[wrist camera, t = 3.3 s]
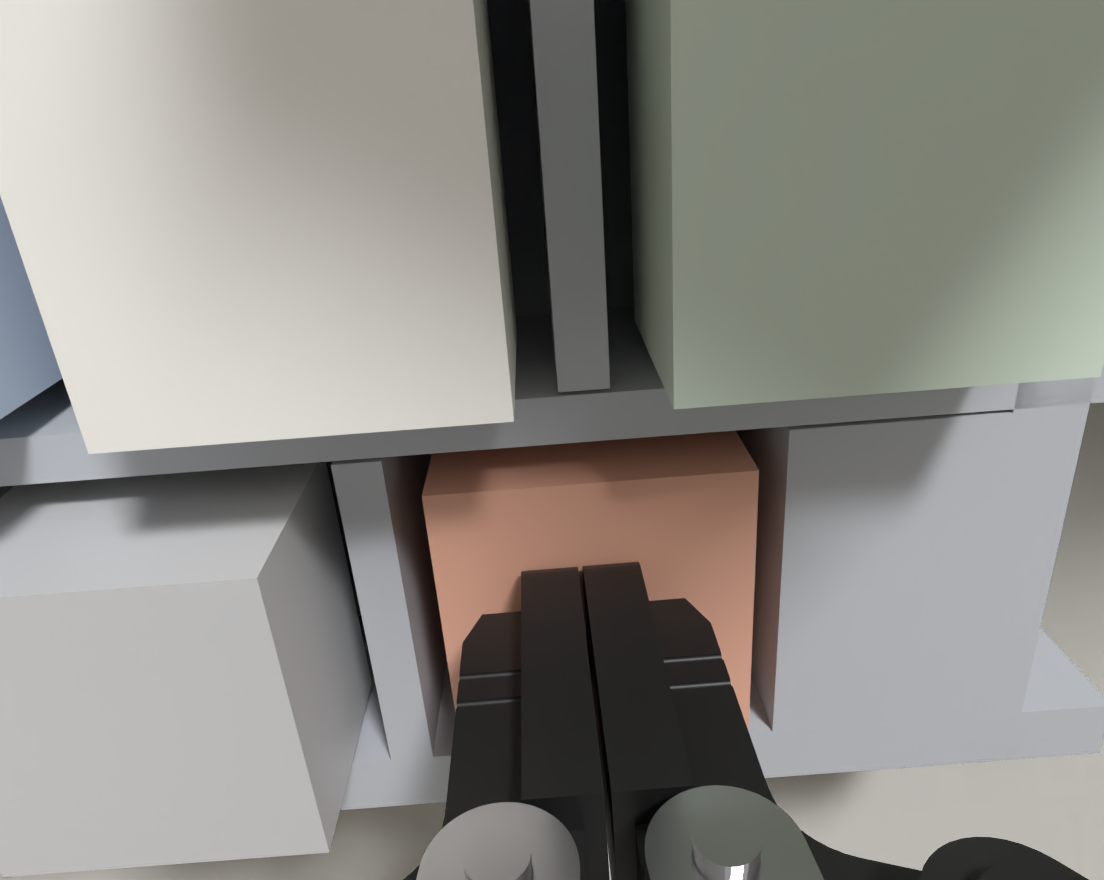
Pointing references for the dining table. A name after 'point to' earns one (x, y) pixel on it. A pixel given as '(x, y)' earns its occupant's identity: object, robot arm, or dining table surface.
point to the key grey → (175, 669)
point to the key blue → (20, 330)
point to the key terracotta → (599, 529)
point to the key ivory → (261, 214)
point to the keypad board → (645, 411)
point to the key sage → (865, 194)
